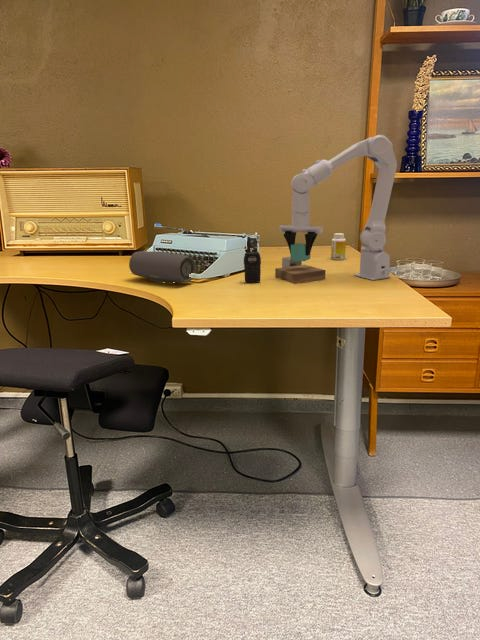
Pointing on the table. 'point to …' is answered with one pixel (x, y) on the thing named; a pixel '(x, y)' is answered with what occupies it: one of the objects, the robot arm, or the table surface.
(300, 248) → the teal cube
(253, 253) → the two-way radio
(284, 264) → the steel cube
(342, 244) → the supplement bottle
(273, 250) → the table surface
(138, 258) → the bluetooth speaker
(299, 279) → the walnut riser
